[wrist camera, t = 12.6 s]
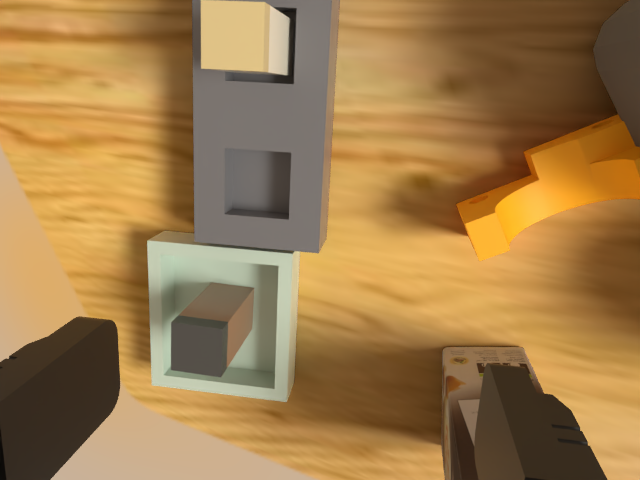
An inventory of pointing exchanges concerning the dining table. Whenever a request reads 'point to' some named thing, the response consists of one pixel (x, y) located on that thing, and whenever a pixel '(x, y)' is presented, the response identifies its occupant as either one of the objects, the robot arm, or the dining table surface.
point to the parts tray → (268, 312)
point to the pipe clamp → (556, 184)
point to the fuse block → (267, 139)
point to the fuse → (245, 38)
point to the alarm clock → (622, 63)
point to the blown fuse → (212, 329)
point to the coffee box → (469, 401)
